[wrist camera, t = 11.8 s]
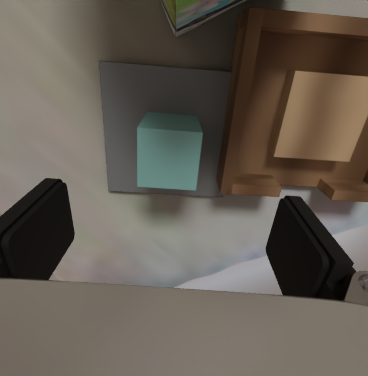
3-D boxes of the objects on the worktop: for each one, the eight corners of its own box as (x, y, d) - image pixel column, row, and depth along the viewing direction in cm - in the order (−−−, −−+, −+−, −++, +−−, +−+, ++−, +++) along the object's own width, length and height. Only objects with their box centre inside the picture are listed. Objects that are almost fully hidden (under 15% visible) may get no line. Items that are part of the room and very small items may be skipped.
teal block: (197, 115, 22) (202, 132, 17) (192, 162, 24) (195, 190, 19) (147, 111, 22) (137, 127, 17) (146, 159, 24) (137, 186, 19)
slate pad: (242, 72, 21) (243, 73, 21) (222, 194, 27) (222, 197, 26) (100, 61, 21) (99, 61, 20) (109, 188, 26) (108, 190, 26)
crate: (431, 33, 20) (477, 28, 17) (363, 186, 27) (387, 203, 23) (238, 15, 19) (250, 7, 16) (215, 177, 26) (220, 193, 23)
